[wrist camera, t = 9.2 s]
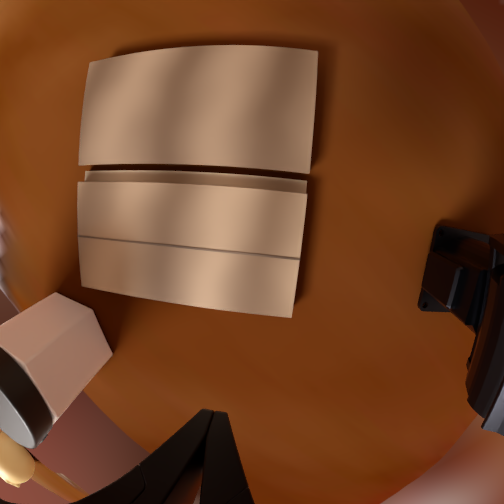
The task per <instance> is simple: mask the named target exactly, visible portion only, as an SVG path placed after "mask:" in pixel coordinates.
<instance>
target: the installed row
mask: <svg viewBox="0 0 504 504" xmlns="http://www.w3.org/2000/svg"><path fill="white" fill-rule="evenodd" d="M306 187H307V181H303V180H294V179H285V178H275V177H265V176H253V175H241V174H226V173H210V172H188V171H152V170H112V171H85V182H78V198H77V220H78V248H79V263H80V274H81V284H82V286H83V287H88V288H93V289H98V290H103V291H108V292H113V293H118V294H123V295H129V296H134V297H140V298H146V299H152V300H158V301H164V302H170V303H176V304H183V305H189V306H196V307H203V308H211V309H218V310H226V311H234V312H242V313H251V314H260V315H269V316H279V317H290V318H291V317H292V311H293V304H294V297H295V290H296V283H297V276H298V269H299V261H300V254H301V246H302V238H303V229H304V221H305V212H306V203H307V194H306Z"/></svg>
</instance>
